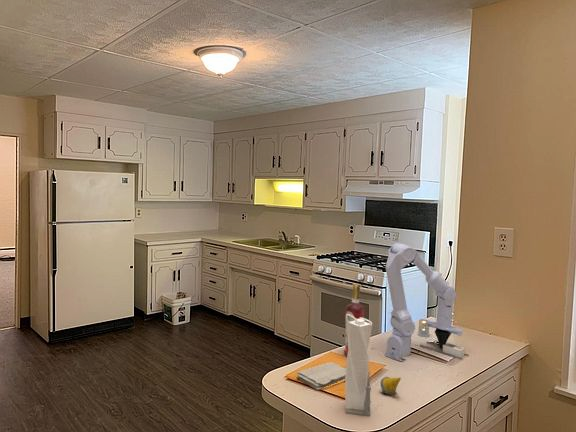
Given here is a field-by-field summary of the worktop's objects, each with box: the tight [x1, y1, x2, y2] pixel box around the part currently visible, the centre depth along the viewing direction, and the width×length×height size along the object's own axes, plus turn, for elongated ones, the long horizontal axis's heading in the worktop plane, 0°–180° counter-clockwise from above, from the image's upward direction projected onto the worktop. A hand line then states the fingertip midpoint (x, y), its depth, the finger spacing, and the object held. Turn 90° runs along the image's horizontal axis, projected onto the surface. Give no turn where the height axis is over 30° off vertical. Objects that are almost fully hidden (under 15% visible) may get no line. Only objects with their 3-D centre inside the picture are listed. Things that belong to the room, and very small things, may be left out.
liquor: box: [343, 283, 366, 356], centre depth 166 cm, size 7×7×28 cm
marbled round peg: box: [417, 318, 430, 338], centre depth 189 cm, size 4×4×8 cm
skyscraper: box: [344, 313, 374, 417], centre depth 127 cm, size 8×8×28 cm
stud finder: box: [442, 342, 466, 358], centre depth 169 cm, size 4×7×3 cm, turn 44°
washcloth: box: [296, 361, 346, 391], centre depth 147 cm, size 12×18×3 cm, turn 130°
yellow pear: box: [379, 376, 402, 396], centre depth 137 cm, size 5×5×10 cm
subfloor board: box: [419, 341, 469, 361], centre depth 174 cm, size 20×21×2 cm
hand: (442, 348), depth 172 cm, fingers closed
